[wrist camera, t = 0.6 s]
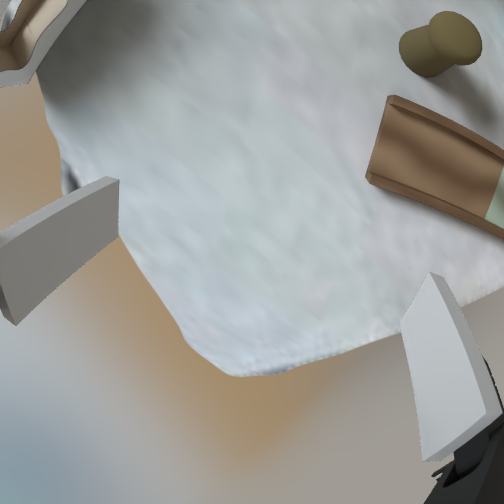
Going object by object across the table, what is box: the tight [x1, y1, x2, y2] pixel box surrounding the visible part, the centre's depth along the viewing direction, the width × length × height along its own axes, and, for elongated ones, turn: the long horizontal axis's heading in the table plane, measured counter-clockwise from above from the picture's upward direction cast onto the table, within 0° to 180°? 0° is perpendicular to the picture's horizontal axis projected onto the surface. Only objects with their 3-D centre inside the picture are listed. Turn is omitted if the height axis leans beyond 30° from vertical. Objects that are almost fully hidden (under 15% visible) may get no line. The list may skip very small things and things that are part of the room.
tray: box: [365, 95, 504, 239], centre depth 26 cm, size 10×27×5 cm, turn 78°
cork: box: [399, 11, 482, 77], centre depth 18 cm, size 6×6×11 cm
